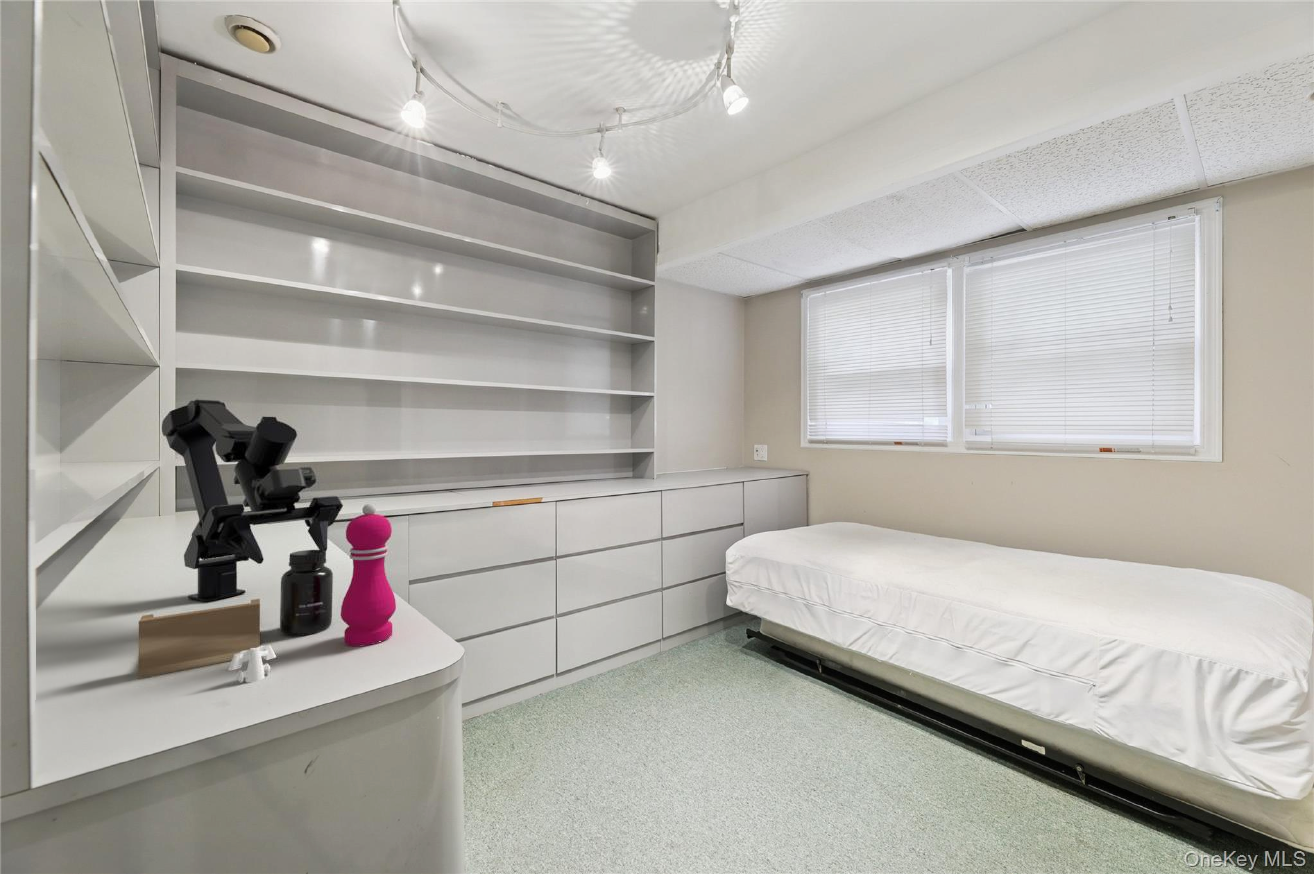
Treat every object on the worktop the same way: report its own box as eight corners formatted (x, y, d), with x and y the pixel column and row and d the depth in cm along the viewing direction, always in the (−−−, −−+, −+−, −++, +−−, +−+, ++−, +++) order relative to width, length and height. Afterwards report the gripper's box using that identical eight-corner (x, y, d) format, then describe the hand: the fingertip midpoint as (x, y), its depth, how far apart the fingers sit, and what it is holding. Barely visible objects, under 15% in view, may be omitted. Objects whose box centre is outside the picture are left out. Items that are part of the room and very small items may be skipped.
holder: (151, 651, 74) (151, 600, 74) (258, 632, 82) (258, 586, 82) (138, 678, 66) (138, 621, 66) (259, 654, 73) (259, 603, 73)
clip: (274, 669, 68) (274, 640, 68) (280, 673, 67) (281, 643, 67) (226, 684, 64) (226, 653, 64) (232, 688, 63) (232, 656, 63)
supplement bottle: (306, 638, 79) (307, 557, 79) (268, 635, 80) (268, 555, 80) (342, 623, 86) (343, 548, 86) (306, 620, 87) (307, 547, 87)
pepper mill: (405, 630, 82) (406, 501, 82) (376, 648, 75) (376, 506, 75) (361, 629, 83) (362, 500, 83) (328, 647, 76) (329, 506, 76)
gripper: (208, 453, 80) (240, 531, 74) (337, 451, 96) (372, 515, 90) (188, 502, 84) (217, 581, 78) (315, 493, 100) (347, 557, 94)
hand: (294, 556), depth 85 cm, fingers open, 9 cm apart
